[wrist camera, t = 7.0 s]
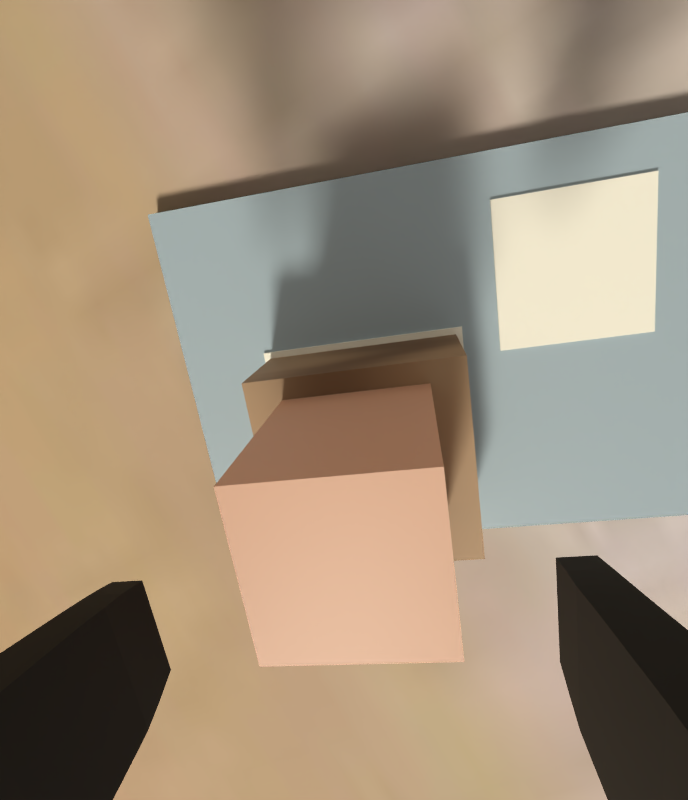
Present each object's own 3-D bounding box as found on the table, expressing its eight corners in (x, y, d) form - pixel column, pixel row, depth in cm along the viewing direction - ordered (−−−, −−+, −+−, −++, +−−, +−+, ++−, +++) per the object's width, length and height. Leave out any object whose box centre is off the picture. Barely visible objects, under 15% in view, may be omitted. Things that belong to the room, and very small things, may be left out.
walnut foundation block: (456, 334, 15) (467, 355, 12) (471, 505, 17) (484, 558, 14) (270, 358, 16) (241, 383, 13) (303, 518, 18) (283, 570, 15)
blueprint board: (699, 113, 13) (714, 106, 13) (682, 505, 17) (693, 516, 16) (157, 215, 16) (146, 214, 15) (237, 537, 19) (231, 547, 19)
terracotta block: (430, 382, 13) (443, 466, 8) (445, 519, 14) (464, 661, 9) (282, 400, 13) (213, 486, 9) (307, 528, 15) (259, 667, 10)
